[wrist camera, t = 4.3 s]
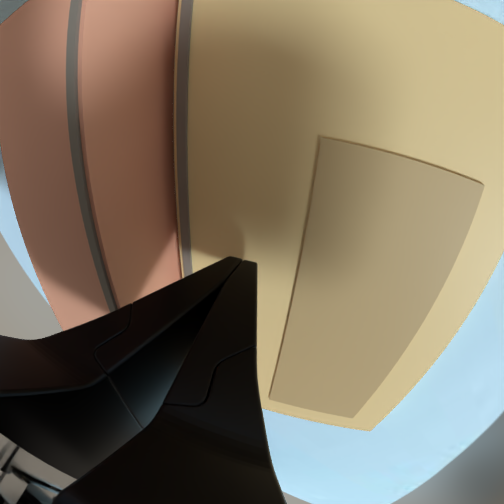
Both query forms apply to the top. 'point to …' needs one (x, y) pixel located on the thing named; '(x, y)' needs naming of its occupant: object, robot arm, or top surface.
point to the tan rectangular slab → (343, 184)
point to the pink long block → (92, 148)
